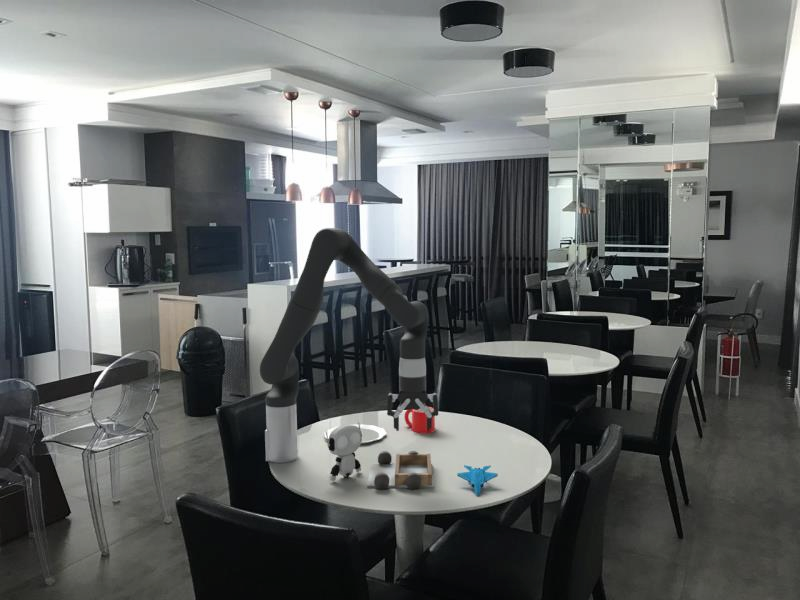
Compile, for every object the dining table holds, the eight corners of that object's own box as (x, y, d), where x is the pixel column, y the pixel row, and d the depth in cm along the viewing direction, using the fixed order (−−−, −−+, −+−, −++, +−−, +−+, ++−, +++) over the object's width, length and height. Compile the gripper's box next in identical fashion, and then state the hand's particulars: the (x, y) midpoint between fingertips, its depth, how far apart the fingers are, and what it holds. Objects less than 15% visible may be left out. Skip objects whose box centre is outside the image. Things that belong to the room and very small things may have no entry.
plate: (312, 437, 225) (312, 432, 225) (360, 425, 238) (360, 420, 238) (349, 451, 209) (348, 446, 209) (398, 438, 223) (398, 433, 223)
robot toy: (335, 485, 180) (334, 432, 179) (325, 481, 183) (323, 429, 182) (368, 474, 189) (367, 422, 187) (358, 470, 192) (357, 419, 190)
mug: (410, 425, 237) (410, 403, 236) (439, 430, 230) (438, 408, 229) (398, 430, 231) (397, 408, 230) (426, 436, 224) (426, 413, 223)
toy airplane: (453, 482, 182) (452, 467, 181) (482, 475, 186) (482, 460, 185) (477, 496, 171) (476, 481, 171) (508, 488, 176) (507, 473, 175)
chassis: (366, 489, 177) (366, 475, 176) (371, 464, 197) (371, 451, 196) (434, 489, 176) (433, 475, 176) (431, 463, 196) (431, 450, 196)
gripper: (386, 376, 180) (386, 434, 182) (438, 376, 180) (438, 434, 181) (387, 370, 188) (388, 426, 189) (437, 370, 187) (437, 426, 189)
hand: (412, 430), depth 185 cm, fingers open, 8 cm apart
